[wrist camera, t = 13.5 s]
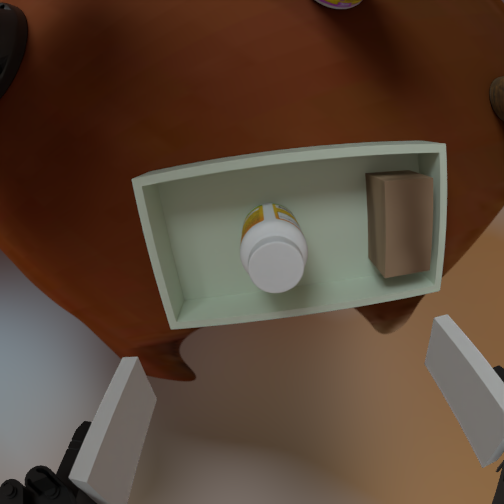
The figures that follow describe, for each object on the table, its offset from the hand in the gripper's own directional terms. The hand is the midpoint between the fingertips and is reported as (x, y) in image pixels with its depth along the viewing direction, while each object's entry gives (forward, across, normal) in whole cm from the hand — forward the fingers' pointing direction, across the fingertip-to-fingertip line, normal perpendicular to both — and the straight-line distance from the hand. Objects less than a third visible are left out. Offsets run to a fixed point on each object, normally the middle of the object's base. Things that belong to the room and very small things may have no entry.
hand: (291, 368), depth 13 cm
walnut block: (+20, +13, 0) cm, 24 cm away
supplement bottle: (+20, 0, 0) cm, 20 cm away
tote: (+20, +3, 0) cm, 21 cm away
